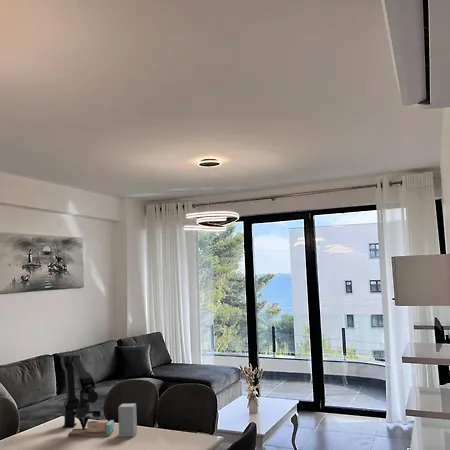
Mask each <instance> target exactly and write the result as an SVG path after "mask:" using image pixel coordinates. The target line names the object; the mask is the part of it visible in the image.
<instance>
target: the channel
mask: <svg viewBox="0 0 450 450" xmlns="http://www.w3.org/2000/svg"><path fill="white" fill-rule="evenodd" d="M114 430H115V429H113V430H112V432H111V433H110V434H106V432H87V427H85V429H84V430H83V429H82V428H72V430H71V431H70V432H68V435H67V437H68V438H79V437H80V438H81V437H83V438H84V437H87V438H88V437H91V438H92V437H111V436H112V434H113V432H114Z"/></svg>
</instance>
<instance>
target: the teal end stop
mask: <svg viewBox="0 0 450 450" xmlns="http://www.w3.org/2000/svg"><path fill="white" fill-rule="evenodd" d="M114 421H115V420H114V419H112V420H111V419H110V420H108V424H107V429H106V434H110V433H111V432H112V430H113V429H114V428H115V426H114V424H115V422H114ZM114 430H115V429H114ZM112 433H113V432H112Z"/></svg>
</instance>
